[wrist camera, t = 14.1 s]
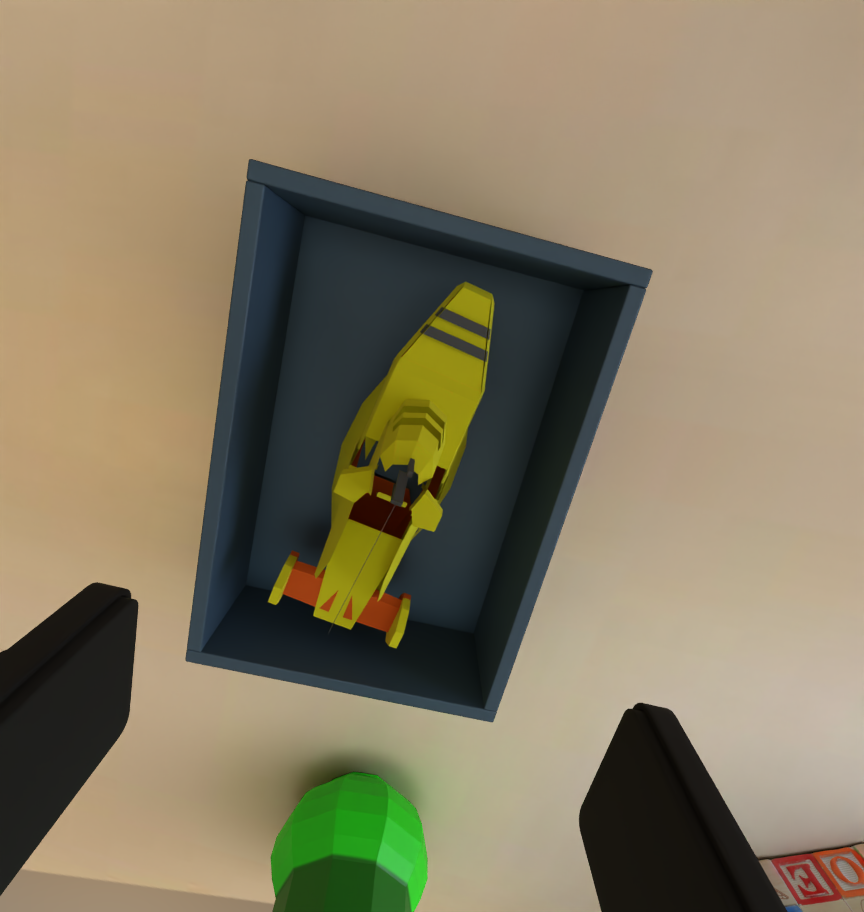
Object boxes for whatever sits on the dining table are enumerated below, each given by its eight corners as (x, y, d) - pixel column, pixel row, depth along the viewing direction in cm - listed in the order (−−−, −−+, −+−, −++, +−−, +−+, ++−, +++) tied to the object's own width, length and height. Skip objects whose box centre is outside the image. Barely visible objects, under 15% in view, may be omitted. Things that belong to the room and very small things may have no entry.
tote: (296, 198, 24) (248, 157, 17) (597, 280, 25) (654, 269, 19) (236, 587, 30) (184, 661, 23) (480, 638, 31) (493, 723, 25)
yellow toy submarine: (291, 565, 29) (222, 693, 19) (410, 264, 24) (398, 233, 14) (392, 603, 29) (375, 744, 20) (527, 318, 25) (589, 323, 15)
